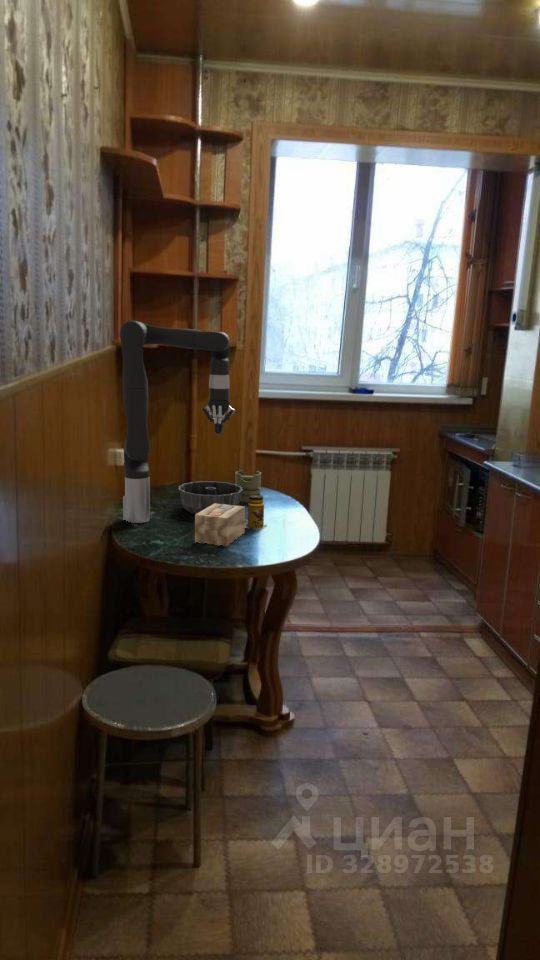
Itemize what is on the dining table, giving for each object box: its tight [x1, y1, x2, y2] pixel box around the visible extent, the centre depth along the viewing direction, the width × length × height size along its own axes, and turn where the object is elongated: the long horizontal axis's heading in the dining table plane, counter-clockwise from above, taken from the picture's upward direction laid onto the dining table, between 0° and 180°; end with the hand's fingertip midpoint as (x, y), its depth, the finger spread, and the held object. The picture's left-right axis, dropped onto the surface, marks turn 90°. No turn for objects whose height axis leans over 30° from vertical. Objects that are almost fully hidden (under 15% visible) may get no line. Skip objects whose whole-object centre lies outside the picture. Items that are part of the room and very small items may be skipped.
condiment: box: [245, 495, 267, 530], centre depth 270 cm, size 7×8×12 cm
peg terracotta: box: [208, 512, 223, 516], centre depth 249 cm, size 4×4×8 cm
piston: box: [234, 470, 262, 503], centre depth 313 cm, size 11×12×11 cm
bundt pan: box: [178, 480, 243, 514], centre depth 291 cm, size 26×26×10 cm
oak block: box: [194, 503, 246, 547], centre depth 254 cm, size 12×18×10 cm, turn 162°
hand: (218, 433), depth 266 cm, fingers closed
